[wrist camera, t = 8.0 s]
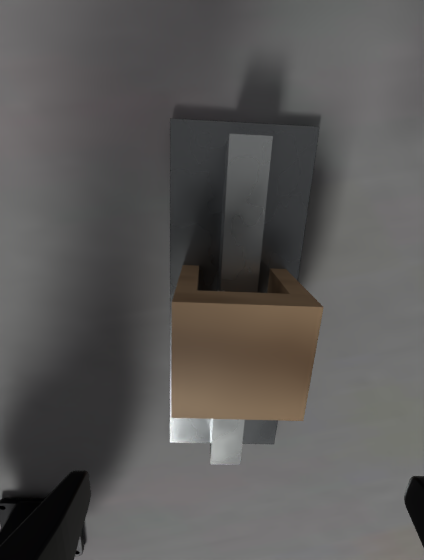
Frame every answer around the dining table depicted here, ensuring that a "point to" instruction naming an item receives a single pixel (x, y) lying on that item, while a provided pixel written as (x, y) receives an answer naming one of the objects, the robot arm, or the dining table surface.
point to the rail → (236, 231)
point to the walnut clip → (242, 349)
